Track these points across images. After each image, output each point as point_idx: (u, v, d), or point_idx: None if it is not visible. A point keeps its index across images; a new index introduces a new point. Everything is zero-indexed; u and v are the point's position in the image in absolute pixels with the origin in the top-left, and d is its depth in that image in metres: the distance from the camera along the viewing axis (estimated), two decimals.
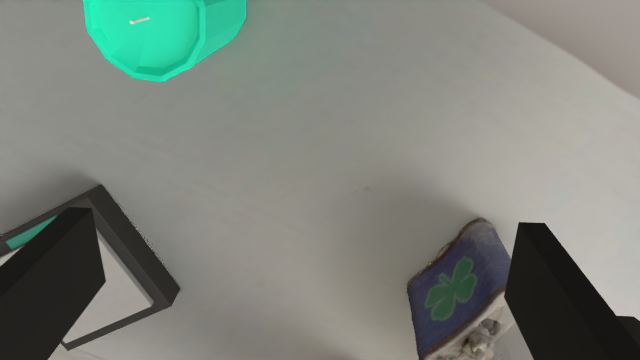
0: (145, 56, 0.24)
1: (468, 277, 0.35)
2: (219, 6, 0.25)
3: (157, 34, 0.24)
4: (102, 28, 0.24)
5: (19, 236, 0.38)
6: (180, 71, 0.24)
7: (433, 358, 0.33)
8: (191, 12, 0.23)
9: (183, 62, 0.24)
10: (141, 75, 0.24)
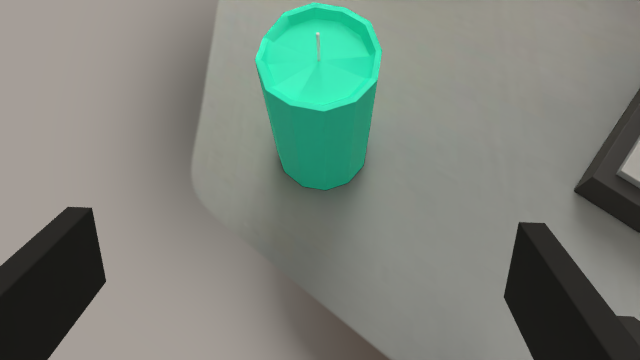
0: (357, 53, 0.24)
1: None
2: None
3: (330, 48, 0.24)
4: (348, 94, 0.23)
5: None
6: (352, 13, 0.24)
7: None
8: (296, 28, 0.24)
9: (344, 16, 0.24)
10: (375, 43, 0.23)
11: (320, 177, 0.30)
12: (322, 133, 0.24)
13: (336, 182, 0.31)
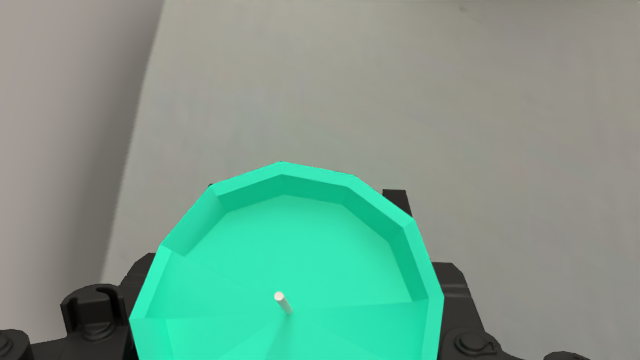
0: (382, 292, 0.10)
1: None
2: None
3: (318, 277, 0.10)
4: None
5: None
6: (371, 191, 0.10)
7: None
8: (241, 219, 0.10)
9: (351, 197, 0.10)
10: (427, 278, 0.09)
11: None
12: None
13: None
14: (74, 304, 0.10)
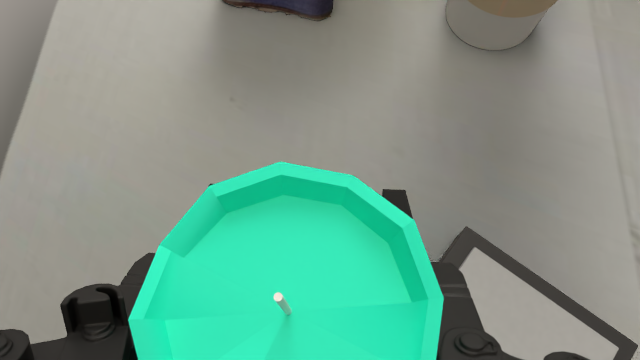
0: (381, 293, 0.10)
1: None
2: None
3: (318, 278, 0.10)
4: None
5: None
6: (371, 192, 0.10)
7: None
8: (240, 220, 0.10)
9: (350, 197, 0.10)
10: (426, 279, 0.09)
11: None
12: None
13: None
14: (74, 304, 0.10)
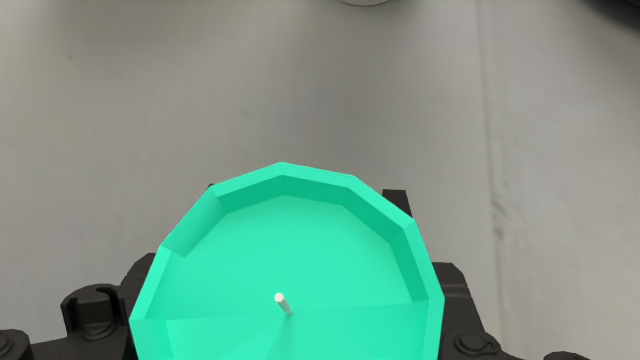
0: (382, 293, 0.10)
1: None
2: None
3: (319, 278, 0.10)
4: None
5: None
6: (371, 192, 0.10)
7: None
8: (240, 220, 0.10)
9: (351, 197, 0.10)
10: (427, 279, 0.09)
11: None
12: None
13: None
14: (74, 304, 0.10)
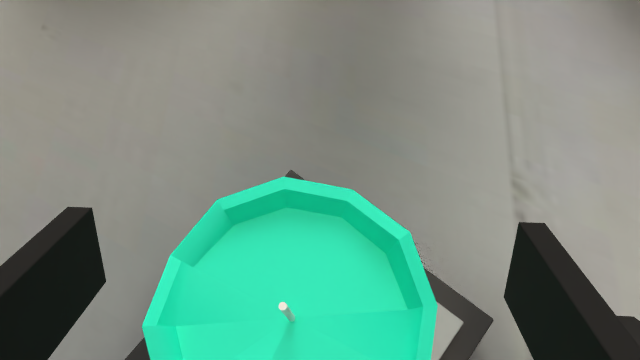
0: (379, 301, 0.10)
1: None
2: None
3: (320, 286, 0.11)
4: None
5: None
6: (369, 205, 0.11)
7: None
8: (246, 231, 0.11)
9: (349, 210, 0.11)
10: (421, 288, 0.10)
11: None
12: None
13: None
14: None
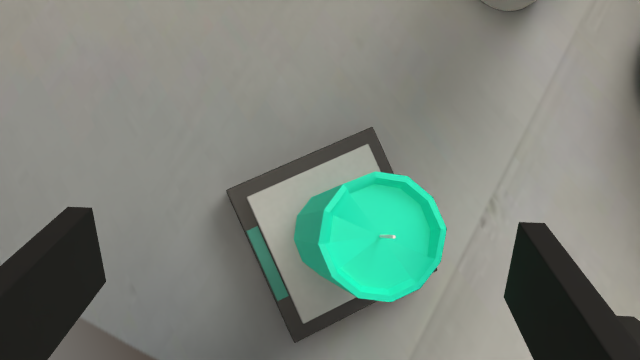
0: (418, 247, 0.23)
1: None
2: None
3: (397, 229, 0.23)
4: (388, 287, 0.23)
5: (271, 281, 0.32)
6: (436, 208, 0.23)
7: None
8: (378, 190, 0.23)
9: (426, 205, 0.23)
10: (438, 251, 0.23)
11: (322, 276, 0.30)
12: (346, 290, 0.24)
13: None
14: None
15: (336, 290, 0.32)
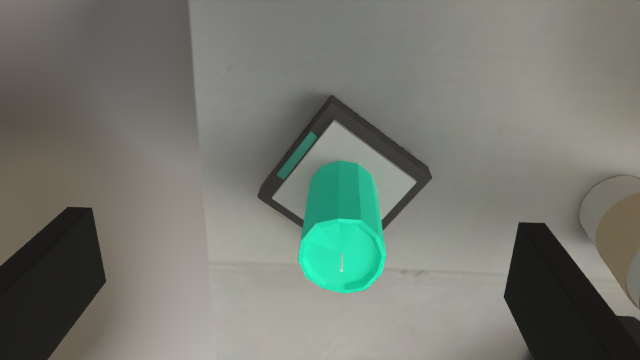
0: (346, 276, 0.34)
1: None
2: (377, 219, 0.35)
3: (351, 261, 0.34)
4: (314, 271, 0.34)
5: (286, 164, 0.42)
6: (375, 279, 0.34)
7: None
8: (369, 240, 0.33)
9: (374, 272, 0.34)
10: (349, 290, 0.34)
11: None
12: None
13: None
14: None
15: (304, 208, 0.44)
